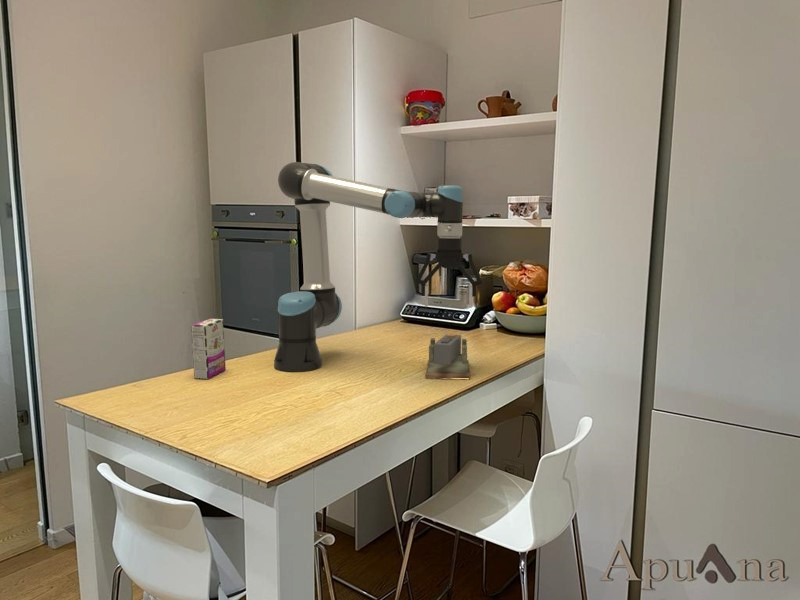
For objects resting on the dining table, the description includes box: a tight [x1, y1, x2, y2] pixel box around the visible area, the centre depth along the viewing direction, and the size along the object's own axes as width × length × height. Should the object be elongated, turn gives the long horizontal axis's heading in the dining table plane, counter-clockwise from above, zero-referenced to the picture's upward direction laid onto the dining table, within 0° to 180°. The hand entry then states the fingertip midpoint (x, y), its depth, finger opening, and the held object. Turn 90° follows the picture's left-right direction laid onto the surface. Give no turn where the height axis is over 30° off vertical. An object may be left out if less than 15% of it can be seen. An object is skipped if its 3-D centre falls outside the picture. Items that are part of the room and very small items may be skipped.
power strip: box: [434, 333, 462, 365], centre depth 192 cm, size 5×16×6 cm, turn 163°
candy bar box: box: [190, 318, 227, 380], centre depth 187 cm, size 11×5×16 cm, turn 168°
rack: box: [424, 337, 470, 379], centre depth 193 cm, size 13×20×9 cm, turn 175°
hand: (448, 306), depth 191 cm, fingers open, 13 cm apart
